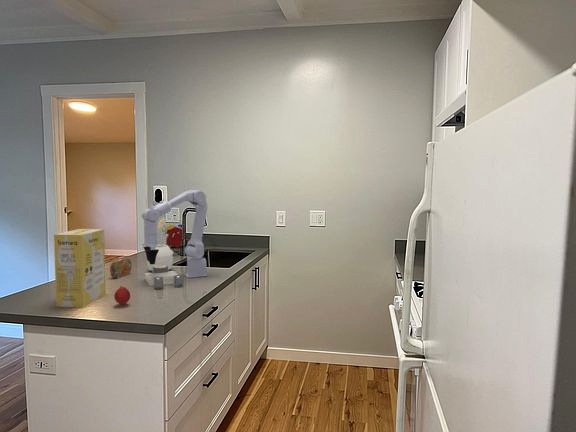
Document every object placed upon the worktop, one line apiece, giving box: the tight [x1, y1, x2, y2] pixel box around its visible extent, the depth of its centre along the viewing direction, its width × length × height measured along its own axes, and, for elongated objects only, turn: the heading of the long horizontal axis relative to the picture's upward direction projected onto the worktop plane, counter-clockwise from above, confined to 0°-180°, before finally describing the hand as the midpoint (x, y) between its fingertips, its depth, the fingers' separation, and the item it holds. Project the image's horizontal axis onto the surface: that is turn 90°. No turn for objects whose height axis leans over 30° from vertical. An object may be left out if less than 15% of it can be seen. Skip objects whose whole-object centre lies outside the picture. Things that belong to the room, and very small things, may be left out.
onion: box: [113, 285, 131, 307], centre depth 162 cm, size 6×6×8 cm
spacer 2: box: [173, 274, 184, 288], centre depth 192 cm, size 4×4×5 cm
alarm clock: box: [165, 219, 188, 249], centre depth 297 cm, size 15×9×20 cm, turn 130°
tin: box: [109, 258, 132, 279], centre depth 210 cm, size 15×3×8 cm, turn 168°
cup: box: [146, 244, 174, 272], centre depth 223 cm, size 13×13×14 cm
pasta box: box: [53, 228, 107, 308], centre depth 167 cm, size 18×10×28 cm, turn 178°
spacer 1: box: [153, 277, 164, 291], centre depth 188 cm, size 4×4×5 cm
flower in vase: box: [157, 217, 174, 256], centre depth 264 cm, size 13×11×25 cm
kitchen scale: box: [144, 265, 179, 287], centre depth 201 cm, size 14×15×6 cm
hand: (151, 262), depth 197 cm, fingers open, 7 cm apart
